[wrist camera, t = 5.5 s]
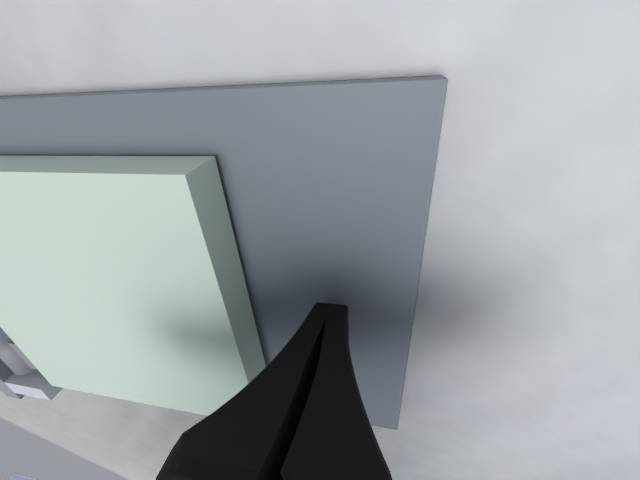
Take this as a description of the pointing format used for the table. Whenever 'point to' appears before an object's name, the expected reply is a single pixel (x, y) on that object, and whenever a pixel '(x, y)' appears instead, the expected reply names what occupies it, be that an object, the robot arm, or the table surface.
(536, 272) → the table surface
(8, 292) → the door
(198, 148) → the jig board
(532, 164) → the table surface
